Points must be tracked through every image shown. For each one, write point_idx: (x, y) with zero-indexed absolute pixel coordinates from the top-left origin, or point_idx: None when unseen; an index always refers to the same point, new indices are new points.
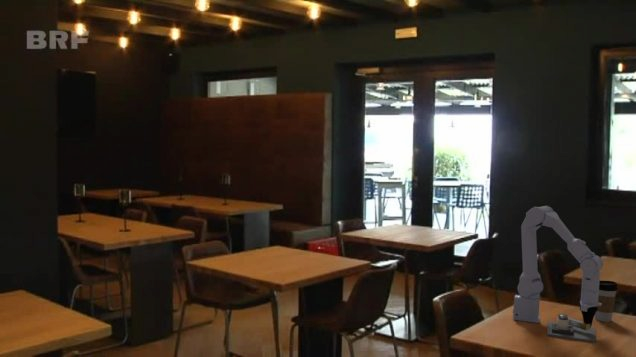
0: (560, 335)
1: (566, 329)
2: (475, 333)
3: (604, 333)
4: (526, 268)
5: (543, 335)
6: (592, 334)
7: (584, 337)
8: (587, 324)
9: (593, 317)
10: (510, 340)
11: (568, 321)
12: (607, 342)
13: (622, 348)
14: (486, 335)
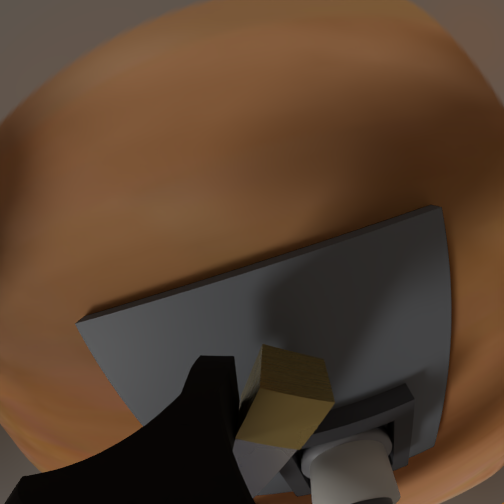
0: (438, 413)
1: (375, 440)
2: (464, 486)
3: (93, 232)
4: None
5: None
6: (271, 293)
7: (414, 314)
8: (317, 399)
9: (167, 430)
10: (500, 440)
11: (372, 486)
12: (341, 128)
13: (390, 22)
14: (473, 475)
